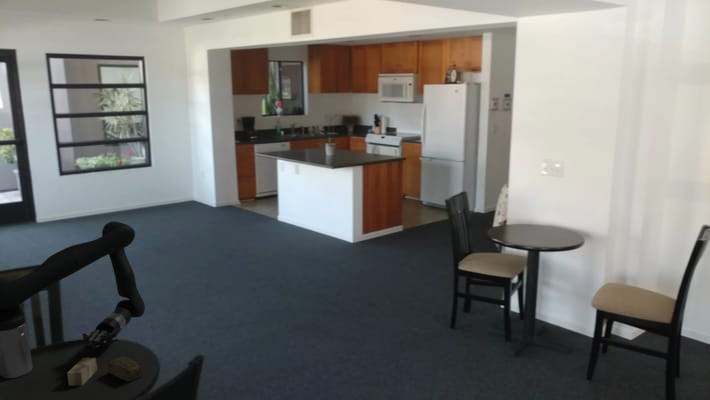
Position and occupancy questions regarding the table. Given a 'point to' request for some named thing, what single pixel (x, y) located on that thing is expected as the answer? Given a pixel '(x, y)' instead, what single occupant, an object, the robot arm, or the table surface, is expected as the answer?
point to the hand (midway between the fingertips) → (87, 349)
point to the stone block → (125, 369)
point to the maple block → (82, 371)
